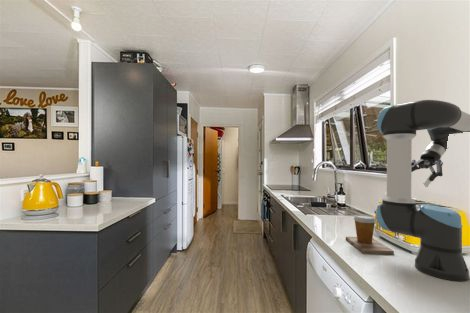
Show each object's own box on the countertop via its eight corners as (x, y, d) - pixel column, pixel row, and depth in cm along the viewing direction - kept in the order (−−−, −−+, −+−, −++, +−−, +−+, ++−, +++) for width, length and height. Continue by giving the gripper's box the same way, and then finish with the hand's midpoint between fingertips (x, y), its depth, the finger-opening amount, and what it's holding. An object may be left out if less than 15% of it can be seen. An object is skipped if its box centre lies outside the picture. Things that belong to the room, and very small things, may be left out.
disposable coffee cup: (370, 238, 120) (370, 214, 121) (379, 245, 111) (379, 219, 111) (350, 237, 121) (350, 214, 122) (358, 244, 112) (358, 218, 112)
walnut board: (393, 254, 104) (393, 251, 104) (363, 253, 104) (363, 249, 104) (371, 240, 122) (371, 237, 123) (345, 239, 123) (345, 236, 123)
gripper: (464, 159, 112) (442, 192, 108) (412, 160, 136) (392, 186, 132) (456, 148, 111) (433, 180, 106) (405, 150, 135) (384, 177, 130)
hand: (410, 183), depth 119 cm, fingers open, 13 cm apart
